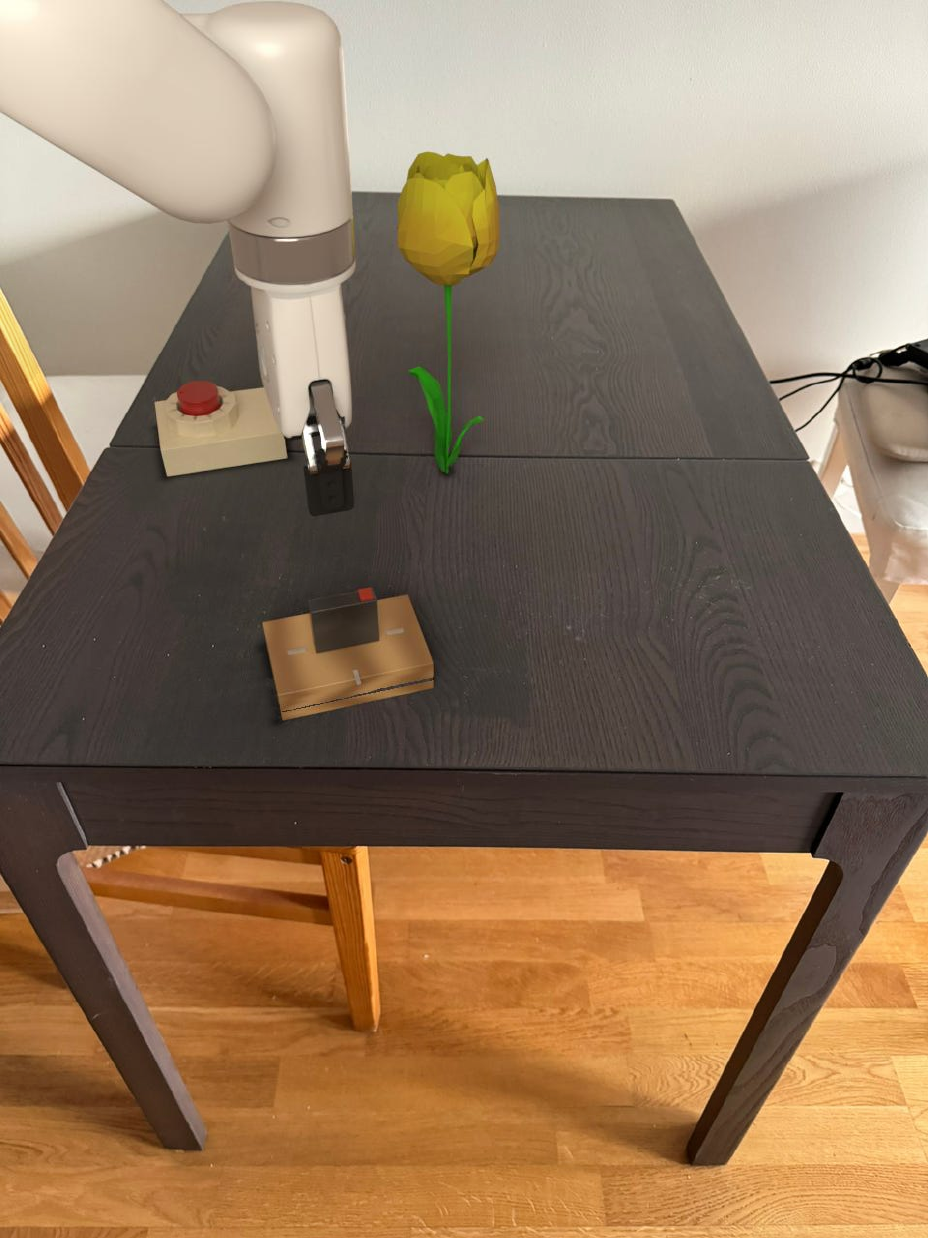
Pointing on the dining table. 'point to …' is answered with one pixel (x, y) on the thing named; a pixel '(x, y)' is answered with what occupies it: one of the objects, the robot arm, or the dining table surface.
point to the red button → (198, 398)
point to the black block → (344, 620)
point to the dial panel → (347, 662)
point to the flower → (447, 251)
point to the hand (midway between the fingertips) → (317, 471)
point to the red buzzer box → (219, 433)
